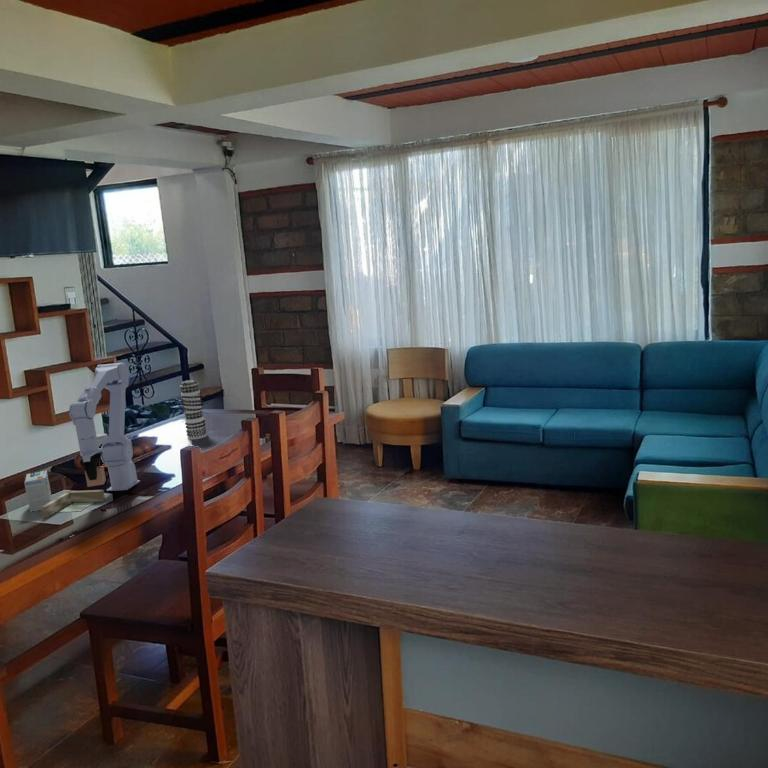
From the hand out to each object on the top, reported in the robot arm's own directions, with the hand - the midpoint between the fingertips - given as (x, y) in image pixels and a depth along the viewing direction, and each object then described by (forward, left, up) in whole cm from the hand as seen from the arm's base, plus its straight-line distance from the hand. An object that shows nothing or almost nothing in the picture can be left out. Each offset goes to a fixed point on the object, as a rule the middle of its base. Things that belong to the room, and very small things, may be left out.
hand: (94, 477), depth 245 cm
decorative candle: (-83, -2, -10) cm, 84 cm away
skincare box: (-47, -26, -10) cm, 55 cm away
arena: (+2, -7, -9) cm, 12 cm away
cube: (0, 0, -2) cm, 2 cm away
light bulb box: (-1, -22, -10) cm, 24 cm away
